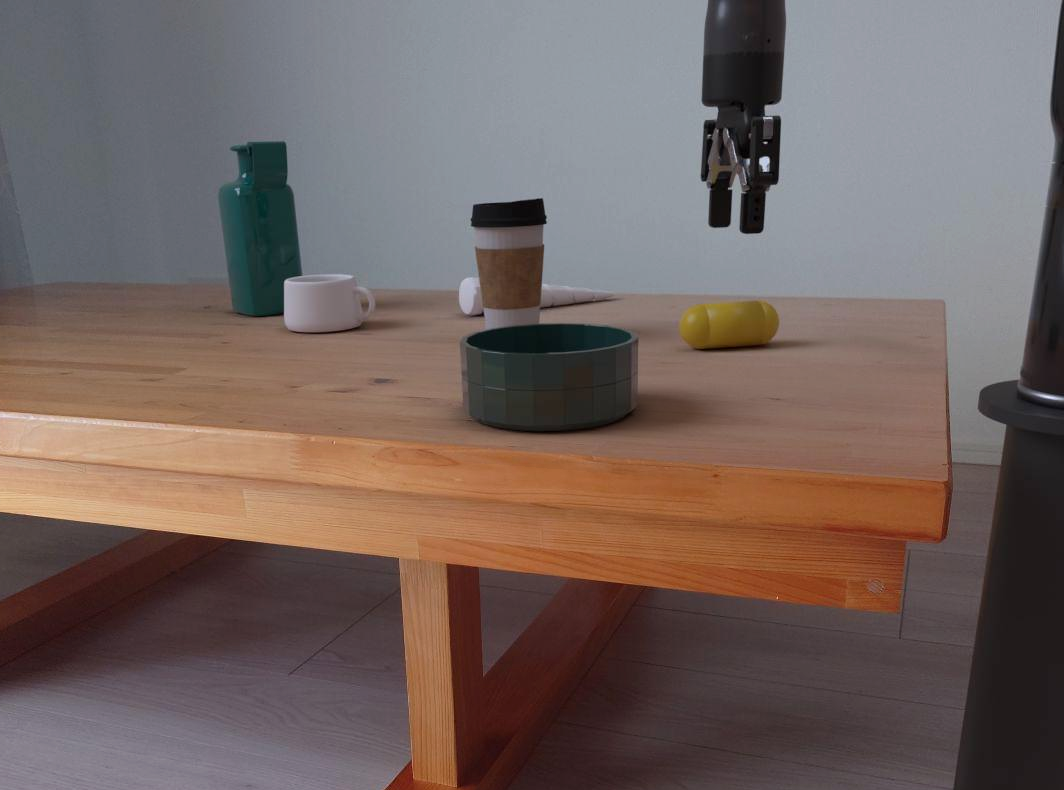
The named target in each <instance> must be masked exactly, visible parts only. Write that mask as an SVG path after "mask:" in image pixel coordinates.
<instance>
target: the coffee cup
mask: <svg viewBox="0 0 1064 790" xmlns="http://www.w3.org/2000/svg"><path fill="white" fill-rule="evenodd" d="M471 211H472V214H471V218H470V227H473V228H474V237H475V244H476V246H474V252H475V258H476V265H477V266H476V267H477V273H478V278H479V281H480V288H481V296H482V303H483V307H484V314H483V316H484V325H485V330H486V329H491V328H498V327H505V326H513V325H525V324H540V317H541V308H540V304H541V289H542V284H543V272H544V257H545V256H544V255H545V244H544V225H547V224H548V222H547V219H548V216H547V215H546V209H545V202H544V198H543V197H540V198H539V197H537V198H531V199H521V200H514V201H502V202H501V201H499V202H485V203H484V202H483V203H474V204H473V205H472V210H471Z"/></svg>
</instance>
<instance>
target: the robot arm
mask: <svg viewBox="0 0 1064 790" xmlns="http://www.w3.org/2000/svg"><path fill="white" fill-rule="evenodd" d="M706 7H707V8H706V12H705V14H706V15H705V19H704V26H703V27H704V29H703V49H702V51H703V52H702V53H703V54H702V79H701V80H702V81H701V103H702V105H703V106H704V107H705V108H717V110H718V111H717V114H716V115H717V116H716V119H704V122H703V126H702V127H703V129H702V130H703V132H702V146H701V148H702V149H701V164H700V166H701V167H700V180H701V182H703V183H704V182H705V183H706V188H707V189H709V197H708V198H709V199H708V217H707V218H708V219H707V223H708V226H709V227H710V228H713V229H721V228H722V229H724V228H728V227H730V226H731V223H732V209H733V207H732V206H733V205H732V204H733V189H732V187H733V185H734V182H735V178H736V175H738V179H739V184H740V188H741V193H740V207H739V208H740V209H739V225H738V227H739V228H738V229H739V232H740V233H741V234H745V235H754V234H755V235H757V234H761V233H762V232H763V231H764V228H765V217H766V216H765V215H766V214H765V213H766V198H767V192H769V191H770V189H771V186H777V185H778V183H779V181H780V161H781V160H780V159H781V134H782V118H781V116H780V115H766V106H774V105H778V104H779V103H780V102H781V101H782V98H783V97H782V96H783V81H784V80H783V79H784V66H785V50H786V49H785V48H786V34H787V11H786V10H787V9H786V0H707V6H706ZM1054 48H1055V49H1054V57H1053V68H1052V76H1051V77H1052V78H1051V87H1050V96H1049V118H1050V125H1051V128H1052V129H1051V130H1052V133H1053V140H1054V141H1053V142H1054V143H1053V153H1052V159H1051V160H1052V162H1053V163H1052V164H1051V166H1050V172H1049V179H1048V187H1047V193H1046V200H1045V207H1044V213H1043V221H1042V226H1041V233H1040V241H1039V248H1038V252H1037V253H1038V254H1037V261H1036V267H1035V274H1034V282H1033V286H1032V287H1033V288H1032V295H1031V300H1030V307H1029V308H1030V309H1029V315H1028V321H1027V328H1026V334H1025V340H1024V349H1023V356H1022V363H1021V366H1020V372H1019V379H1017V380H1018V385H1017V392H1016V395H1017V396H1018V397H1019V398H1020V399H1022V400H1024V401H1027V402H1030V403H1032V404H1036V405H1040V406H1044V407H1049V408H1054V409H1061V410H1064V0H1061V2H1060V8H1059V14H1058V22H1057V30H1056V39H1055V47H1054Z"/></svg>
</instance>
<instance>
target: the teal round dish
mask: <svg viewBox="0 0 1064 790" xmlns="http://www.w3.org/2000/svg"><path fill="white" fill-rule="evenodd" d="M459 354H460V355H459V356H460V371H461V372H460V373H461V390H462V391H461V393H462V408H463V410H464V411H465V412H466V413H467V414H468V415H469V416H471V417H473V419H475V421H477V422H479V423H481V424H484V425H487V426H490V427H493V428H498V429H504V430H511V431H519V432H564V431H565V432H566V431H575V430H577V431H578V430H585V429H591V428H596V427H600V426H605V425H608V424H611V423H614V422H617V421H619V420H621V419H623V418H624V417H626V416H627V414H628V413H630V412H632V411H633V410H634V409H635V408H636V407H637V406H638V405H639V403H638V402H639V401H638V400H639V399H638V396H639V393H638V392H639V336H638V335H637V332H635V331H632V330H630V329H627V328H625V327H624V328H623V327H618V326H614V325H608V324H607V325H606V324H596V323H581V322H577V323H575V322H548V323H539V324H525V325H513V326H505V327H498V328H491V329H486V328H485V329H482V330H478V331H474V332H471V333H469V334H467V335H464V336H462V337H461V339H460V341H459Z"/></svg>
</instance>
